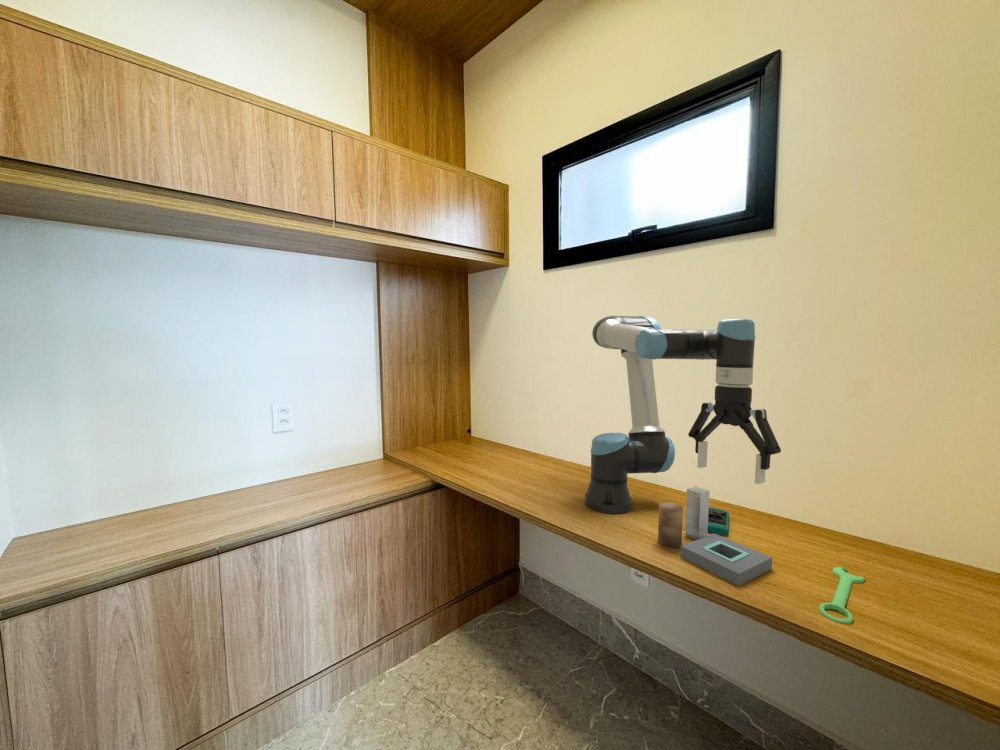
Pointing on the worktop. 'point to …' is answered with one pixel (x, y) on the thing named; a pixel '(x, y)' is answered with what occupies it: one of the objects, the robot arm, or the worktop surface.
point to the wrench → (841, 595)
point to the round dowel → (670, 525)
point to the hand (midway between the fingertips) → (729, 474)
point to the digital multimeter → (718, 521)
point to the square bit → (697, 513)
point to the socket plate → (726, 558)
